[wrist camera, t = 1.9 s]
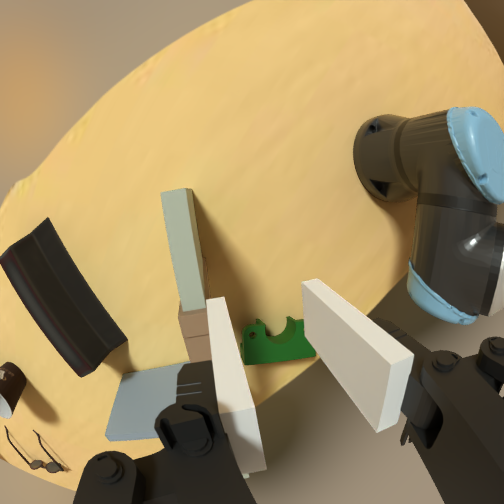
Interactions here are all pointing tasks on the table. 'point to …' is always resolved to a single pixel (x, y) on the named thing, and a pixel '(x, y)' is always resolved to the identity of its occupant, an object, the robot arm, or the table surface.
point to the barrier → (61, 299)
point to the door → (142, 402)
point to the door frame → (188, 272)
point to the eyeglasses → (36, 464)
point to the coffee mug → (10, 388)
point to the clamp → (275, 343)
